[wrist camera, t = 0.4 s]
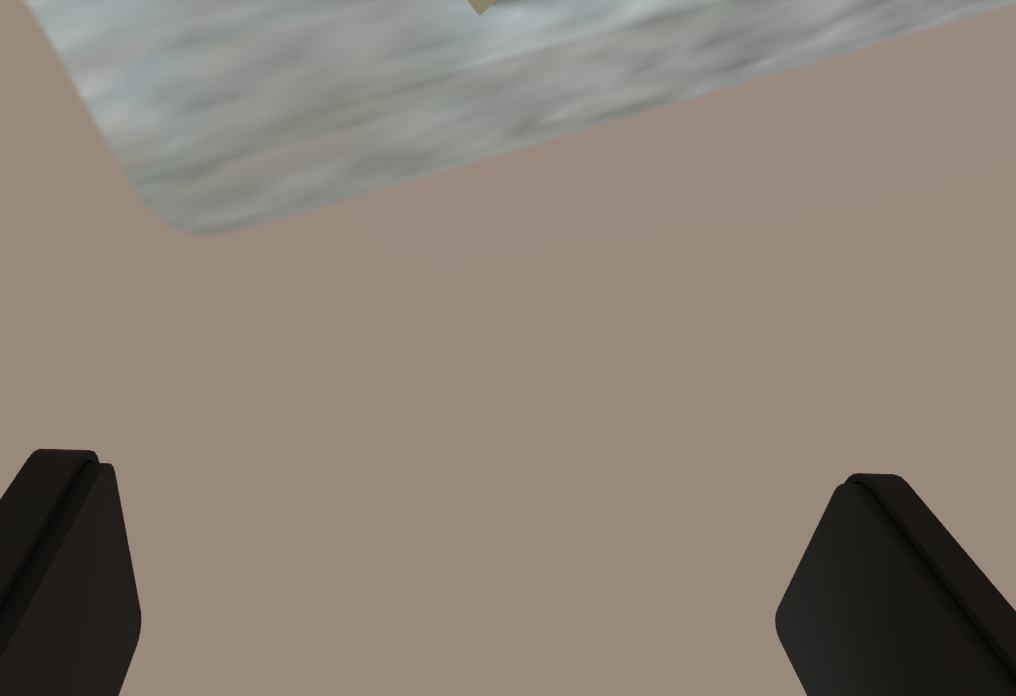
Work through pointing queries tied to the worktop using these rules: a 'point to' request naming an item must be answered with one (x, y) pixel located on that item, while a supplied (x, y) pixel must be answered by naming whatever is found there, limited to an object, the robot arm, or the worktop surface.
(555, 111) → the worktop surface
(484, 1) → the box
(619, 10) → the worktop surface
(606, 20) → the worktop surface
